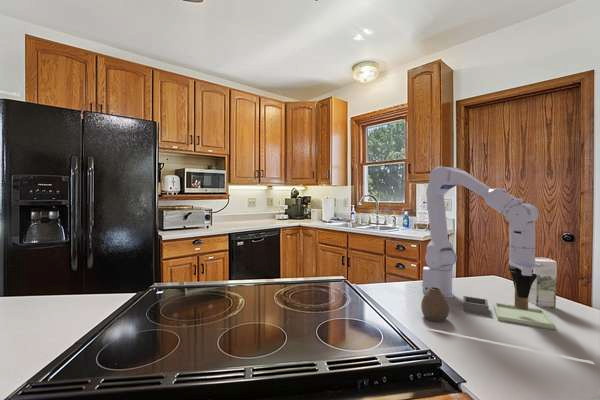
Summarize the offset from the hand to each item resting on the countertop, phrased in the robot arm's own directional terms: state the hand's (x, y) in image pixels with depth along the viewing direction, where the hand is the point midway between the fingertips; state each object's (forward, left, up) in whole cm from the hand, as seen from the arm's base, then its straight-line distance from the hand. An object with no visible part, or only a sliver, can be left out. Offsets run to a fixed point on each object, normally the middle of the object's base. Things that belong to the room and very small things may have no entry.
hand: (521, 295), depth 81 cm
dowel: (0, 0, -3) cm, 3 cm away
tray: (0, 0, -6) cm, 6 cm away
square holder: (-11, 0, -6) cm, 13 cm away
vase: (-21, -13, -7) cm, 26 cm away
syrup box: (+7, +16, -7) cm, 19 cm away
